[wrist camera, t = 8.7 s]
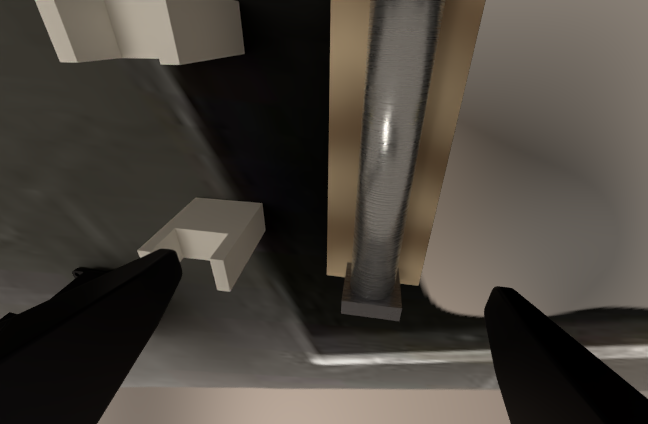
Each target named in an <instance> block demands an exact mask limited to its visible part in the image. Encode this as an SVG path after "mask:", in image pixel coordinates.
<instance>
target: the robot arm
mask: <svg viewBox="0 0 648 424" xmlns="http://www.w3.org/2000/svg"><path fill="white" fill-rule="evenodd" d="M72 274H73V276H74V277H75V279H74V280H73V281H72V282H71V283H70V284H68V285H67V286H66V287H65V288H63V289H62V290H61V291H60V292H58V293H57V294H56V295H55V296H54V297H52V298H51V299H50V300H48V301H46V302H44V303H41V304H39V305H37V306H35V307H33V308H31V309H28V310H26V311H24V312H22V313H20V314H14V313H10V312H9V313H8V314H7V315H5V316H4V317H3V318H1V319H0V424H97V423H98V421H99V420H100V418H101V417H102V415H103V413H104V412H105V410H106V409H107V407H108V405H109V404H110V402H111V400H112V399H113V397H114V396H115V394H116V392H117V391H118V389H119V387H120V386H121V384H122V383H123V381H124V379H125V378H126V376H127V375H128V373H129V371H130V370H131V368H132V366H133V365H134V363H135V362H136V360H137V358H138V357H139V355H140V354H141V352H142V350H143V349H144V347H145V345H146V344H147V342H148V341H149V339H150V337H151V336H152V334H153V332H154V331H155V329H156V327H157V326H158V324H159V322H160V320H161V318H162V316H163V314H164V312H165V310H166V308H167V306H168V304H169V302H170V300H171V298H172V296H173V294H174V292H175V290H176V288H177V286H178V284H179V282H180V280H181V277H182V268H181V265H180V261H179V258H178V255H177V252H176V251H175V250H172V249H164V248H163V249H158V250H156V251H154V252H152V253H150V254H147V255H145V256H143V257H141V258H139V259H137V260H134V261H132V262H130V263H128V264H126V265H124V266H121V267H119V268H117V269H115V270H113V271H111V272H105V271H98V270H90V269H82V268H77V269H75V270H74V271H73V272H72ZM484 317H485V322H486V328H487V333H488V338H489V343H490V349H491V354H492V359H493V364H494V369H495V373H496V377H497V380H498V384H499V387H500V390H501V393H502V397H503V400H504V403H505V407H506V410H507V413H508V416H509V420H510V423H511V424H648V399H647V398H646V397H645V396H643V395H642V394H641V393H640V392H639V391H637V390H636V389H635V388H634V387H633V386H631V385H630V384H629V383H628V382H626V381H625V380H624V379H623V378H622V377H620V376H619V375H618V374H617V373H616V372H614V371H613V370H612V369H611V368H609V367H608V366H607V365H606V364H605V363H603V362H602V361H601V360H600V359H598V358H597V357H596V356H595V355H594V354H592V353H591V352H590V351H589V350H587V349H586V348H585V347H584V346H583V345H581V344H580V343H579V342H578V341H576V340H575V339H574V338H573V337H572V336H570V335H569V334H568V333H567V332H565V331H564V330H563V329H562V328H561V327H559V326H558V325H557V324H556V323H554V322H553V321H552V320H551V319H550V318H548V317H547V316H546V315H545V314H543V313H542V312H541V311H540V310H539V309H537V308H536V307H535V306H534V305H532V304H531V303H530V302H529V301H528V300H526V299H525V298H524V297H523V296H521V295H520V294H519V293H518V292H517V291H515V290H514V289H512V288H507V287H498V286H497V287H494V288H493V290H492V292H491V294H490V296H489V299H488V302H487V304H486V306H485V309H484Z"/></svg>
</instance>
